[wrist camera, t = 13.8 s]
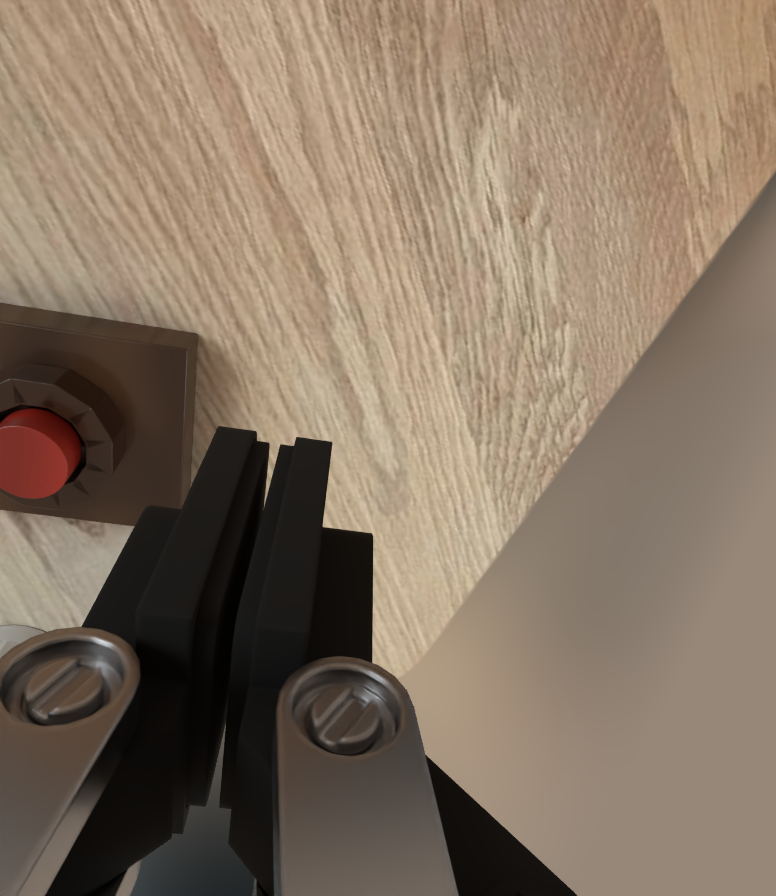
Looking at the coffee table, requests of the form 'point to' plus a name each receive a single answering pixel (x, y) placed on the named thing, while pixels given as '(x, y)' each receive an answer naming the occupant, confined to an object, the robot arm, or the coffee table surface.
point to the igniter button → (36, 453)
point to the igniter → (104, 408)
